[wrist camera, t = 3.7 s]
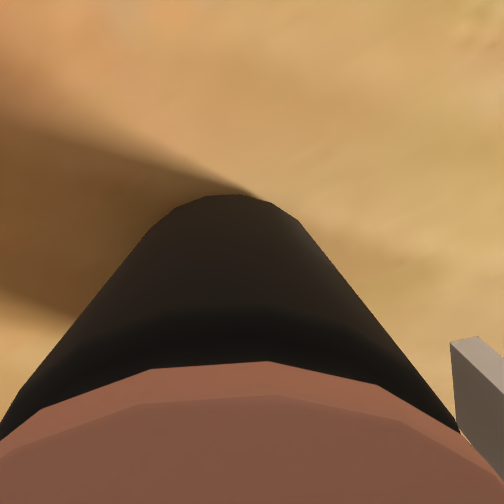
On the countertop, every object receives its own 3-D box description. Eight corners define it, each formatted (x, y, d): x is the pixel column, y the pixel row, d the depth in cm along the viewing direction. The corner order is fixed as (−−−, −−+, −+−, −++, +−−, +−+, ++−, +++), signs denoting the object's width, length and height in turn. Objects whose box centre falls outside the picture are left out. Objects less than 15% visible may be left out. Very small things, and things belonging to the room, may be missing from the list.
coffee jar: (161, 385, 25) (15, 934, 8) (109, 213, 22) (-306, 495, 5) (335, 348, 25) (569, 820, 8) (306, 171, 22) (578, 309, 5)
